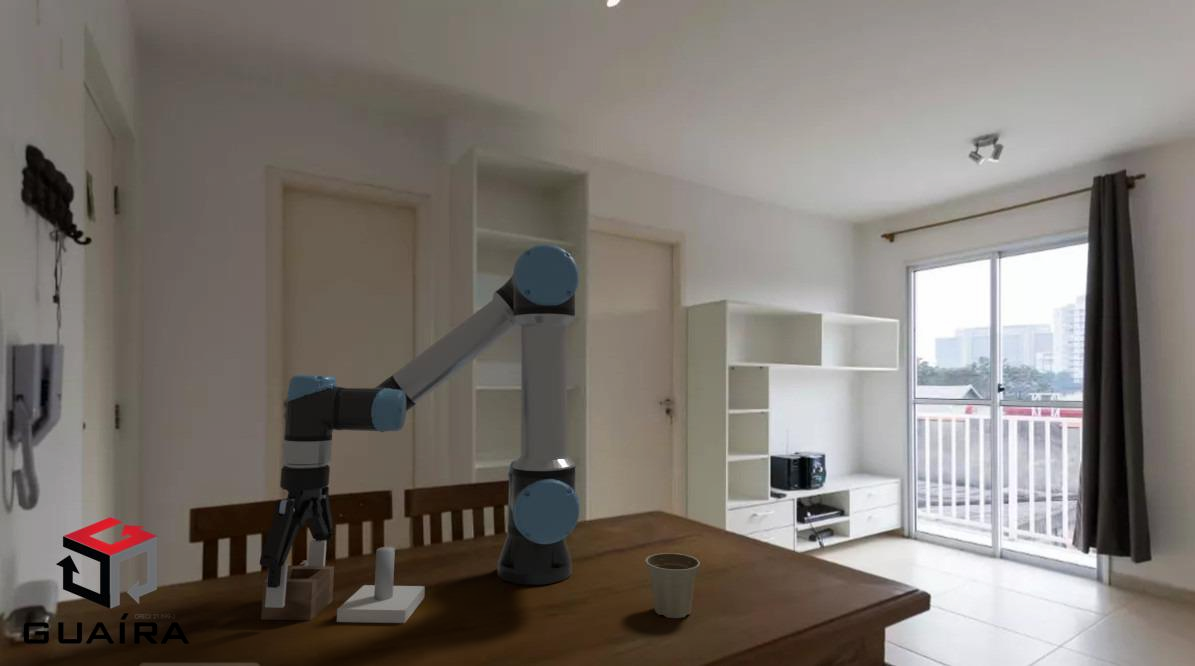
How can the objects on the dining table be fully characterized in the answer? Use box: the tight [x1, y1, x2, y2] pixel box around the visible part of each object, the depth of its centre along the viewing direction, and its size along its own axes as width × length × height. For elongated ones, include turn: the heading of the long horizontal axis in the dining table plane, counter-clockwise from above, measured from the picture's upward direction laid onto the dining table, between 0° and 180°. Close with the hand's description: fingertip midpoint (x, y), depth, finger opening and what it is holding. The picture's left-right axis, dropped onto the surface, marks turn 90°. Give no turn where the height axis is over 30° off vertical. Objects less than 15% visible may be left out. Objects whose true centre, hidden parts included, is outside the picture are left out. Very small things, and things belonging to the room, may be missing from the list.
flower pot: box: [645, 552, 701, 619], centre depth 102 cm, size 9×9×9 cm
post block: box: [336, 546, 426, 624], centre depth 100 cm, size 11×11×10 cm
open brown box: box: [260, 565, 335, 621], centre depth 99 cm, size 8×8×6 cm
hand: (296, 591), depth 99 cm, fingers open, 13 cm apart
